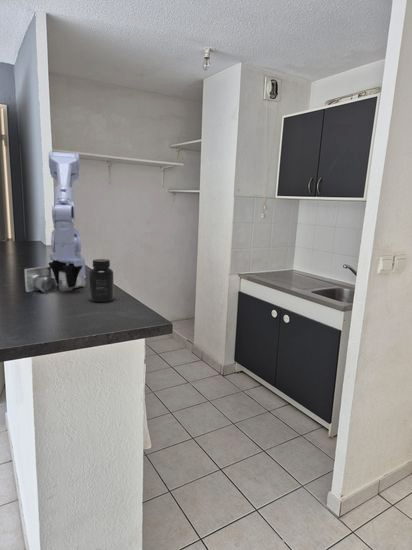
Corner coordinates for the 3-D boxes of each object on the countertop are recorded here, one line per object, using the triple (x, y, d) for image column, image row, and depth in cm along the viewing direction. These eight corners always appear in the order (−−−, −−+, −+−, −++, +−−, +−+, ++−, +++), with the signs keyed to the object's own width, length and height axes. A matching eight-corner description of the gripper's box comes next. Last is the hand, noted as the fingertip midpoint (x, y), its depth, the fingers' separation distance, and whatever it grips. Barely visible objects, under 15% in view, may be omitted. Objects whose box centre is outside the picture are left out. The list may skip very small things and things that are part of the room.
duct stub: (25, 291, 117) (24, 269, 115) (49, 287, 123) (48, 266, 121) (36, 295, 113) (35, 272, 112) (60, 290, 119) (59, 269, 118)
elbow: (63, 291, 118) (63, 273, 117) (56, 289, 120) (56, 271, 119) (85, 287, 124) (85, 269, 123) (78, 285, 127) (78, 268, 126)
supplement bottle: (118, 298, 114) (118, 259, 111) (105, 304, 108) (104, 263, 105) (98, 295, 116) (98, 257, 113) (85, 301, 110) (84, 260, 107)
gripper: (40, 241, 119) (41, 283, 122) (66, 246, 110) (67, 291, 113) (60, 239, 124) (61, 279, 127) (86, 245, 116) (87, 287, 119)
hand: (65, 285), depth 120 cm, fingers open, 6 cm apart
